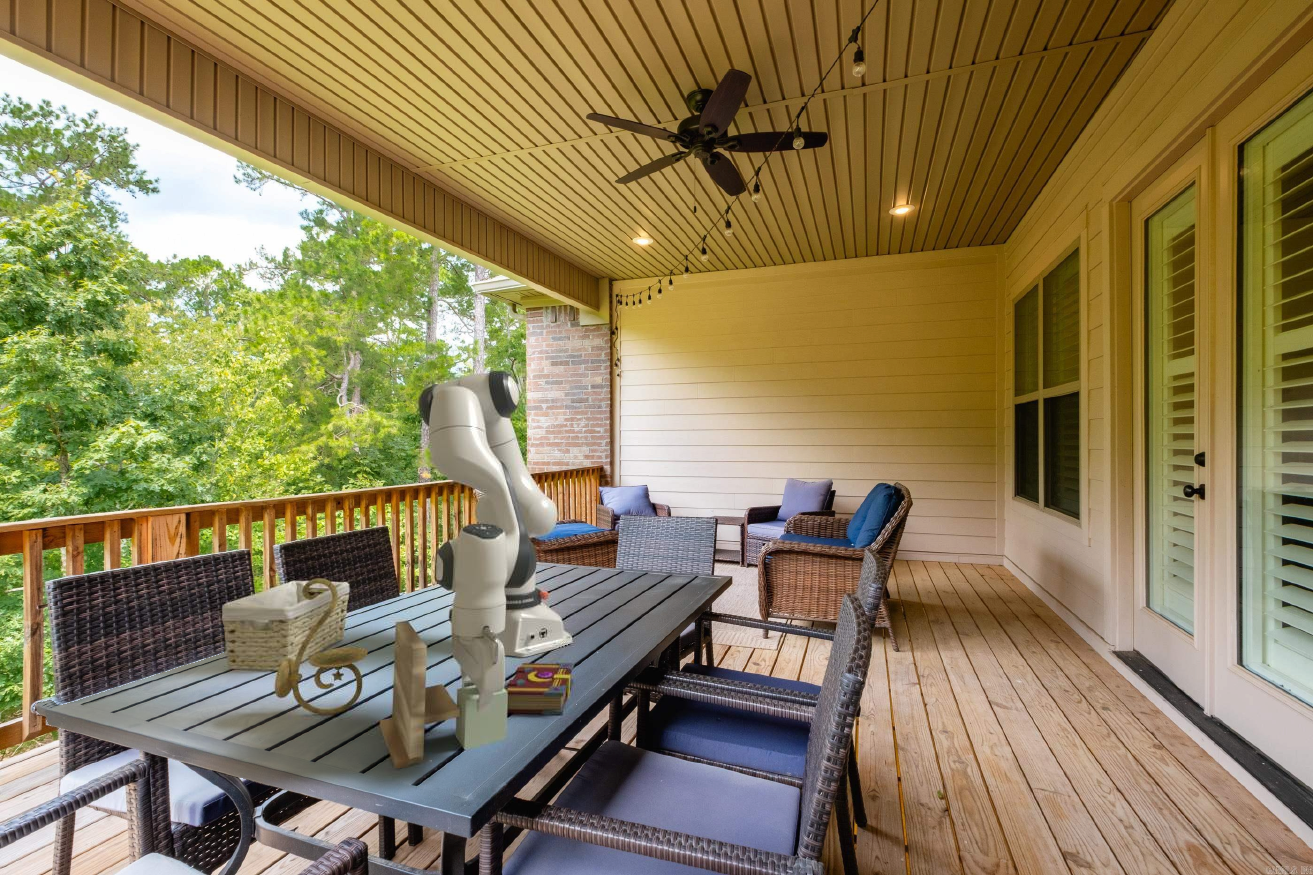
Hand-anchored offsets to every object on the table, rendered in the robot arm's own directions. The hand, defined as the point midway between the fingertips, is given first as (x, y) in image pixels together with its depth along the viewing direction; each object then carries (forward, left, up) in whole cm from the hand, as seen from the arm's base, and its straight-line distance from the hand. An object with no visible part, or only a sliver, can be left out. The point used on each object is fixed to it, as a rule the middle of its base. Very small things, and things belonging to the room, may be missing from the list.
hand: (475, 701), depth 96 cm
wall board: (+8, -5, -6) cm, 11 cm away
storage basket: (+26, -63, -7) cm, 68 cm away
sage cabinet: (-1, 0, -6) cm, 6 cm away
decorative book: (-16, -10, -7) cm, 20 cm away
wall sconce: (+21, -23, -7) cm, 32 cm away
